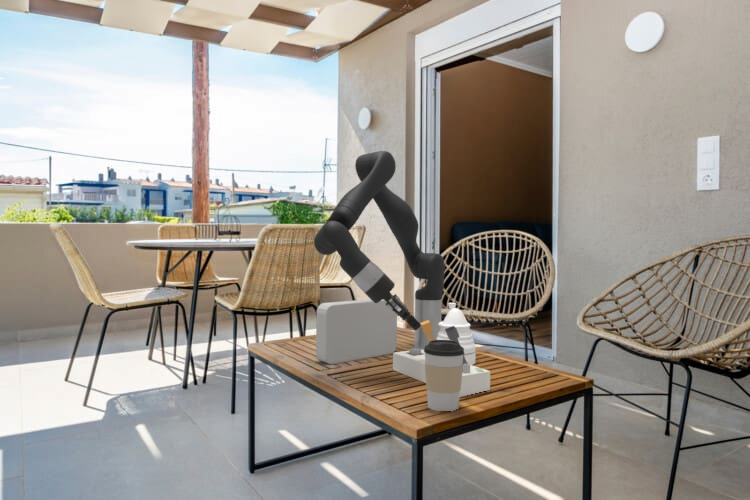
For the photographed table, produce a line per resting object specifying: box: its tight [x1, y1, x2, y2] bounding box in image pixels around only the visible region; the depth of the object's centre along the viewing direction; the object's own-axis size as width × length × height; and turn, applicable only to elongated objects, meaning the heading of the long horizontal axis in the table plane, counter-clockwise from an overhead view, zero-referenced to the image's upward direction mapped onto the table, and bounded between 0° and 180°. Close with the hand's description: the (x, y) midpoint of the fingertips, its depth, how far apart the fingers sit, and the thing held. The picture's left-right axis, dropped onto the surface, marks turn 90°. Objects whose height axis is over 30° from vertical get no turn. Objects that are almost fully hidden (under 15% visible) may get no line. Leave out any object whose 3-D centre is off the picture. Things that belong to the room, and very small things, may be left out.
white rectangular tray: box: [392, 349, 491, 398], centre depth 136 cm, size 10×29×7 cm, turn 32°
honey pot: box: [436, 302, 477, 366], centre depth 157 cm, size 13×13×18 cm
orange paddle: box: [420, 320, 434, 341], centre depth 136 cm, size 2×4×11 cm, turn 3°
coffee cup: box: [424, 340, 464, 412], centre depth 113 cm, size 9×9×15 cm
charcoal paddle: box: [445, 326, 468, 364], centre depth 127 cm, size 2×4×11 cm, turn 3°
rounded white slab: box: [315, 298, 398, 365], centre depth 161 cm, size 29×8×18 cm, turn 129°
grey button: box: [408, 347, 421, 356], centre depth 145 cm, size 3×3×3 cm
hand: (418, 327), depth 135 cm, fingers closed
